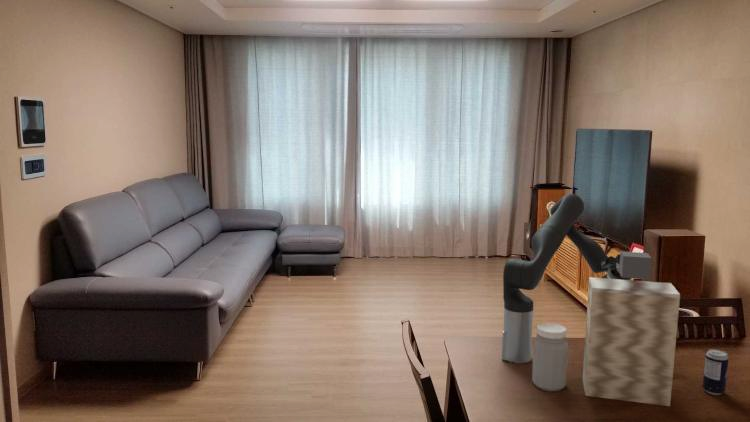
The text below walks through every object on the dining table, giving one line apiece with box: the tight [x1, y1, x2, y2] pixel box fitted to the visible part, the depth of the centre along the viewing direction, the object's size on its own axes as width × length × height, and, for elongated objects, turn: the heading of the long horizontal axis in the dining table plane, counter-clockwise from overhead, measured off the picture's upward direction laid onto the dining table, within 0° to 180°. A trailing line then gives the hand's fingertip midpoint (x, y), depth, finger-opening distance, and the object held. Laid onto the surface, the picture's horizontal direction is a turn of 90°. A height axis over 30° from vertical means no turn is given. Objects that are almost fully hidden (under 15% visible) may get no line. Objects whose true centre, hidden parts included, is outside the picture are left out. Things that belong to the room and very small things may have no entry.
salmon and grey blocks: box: [619, 251, 652, 280], centre depth 165 cm, size 20×7×6 cm, turn 164°
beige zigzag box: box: [582, 276, 681, 407], centre depth 163 cm, size 22×11×32 cm, turn 74°
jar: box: [531, 322, 569, 392], centre depth 168 cm, size 10×10×18 cm
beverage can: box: [701, 348, 730, 396], centre depth 165 cm, size 6×6×12 cm
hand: (629, 256), depth 168 cm, fingers closed on salmon and grey blocks, 3 cm apart
